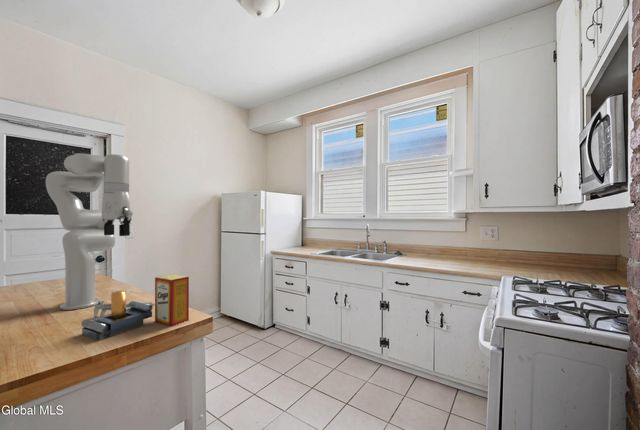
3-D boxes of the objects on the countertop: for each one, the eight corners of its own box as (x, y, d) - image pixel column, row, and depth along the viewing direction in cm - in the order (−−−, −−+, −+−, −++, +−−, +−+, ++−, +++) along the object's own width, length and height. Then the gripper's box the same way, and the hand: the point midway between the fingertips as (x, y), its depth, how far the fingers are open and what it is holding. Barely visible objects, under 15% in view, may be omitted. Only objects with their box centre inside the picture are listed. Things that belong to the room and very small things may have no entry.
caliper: (94, 319, 101) (94, 302, 101) (93, 318, 102) (93, 301, 102) (155, 305, 117) (155, 290, 118) (154, 304, 118) (154, 290, 118)
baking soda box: (155, 321, 98) (155, 276, 99) (172, 315, 104) (172, 273, 104) (171, 326, 94) (171, 279, 94) (188, 320, 99) (188, 275, 100)
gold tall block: (108, 329, 92) (108, 292, 92) (121, 325, 95) (121, 290, 95) (115, 331, 90) (115, 294, 90) (128, 327, 93) (128, 291, 94)
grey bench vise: (81, 334, 87) (81, 314, 87) (135, 317, 102) (135, 300, 102) (98, 340, 83) (98, 319, 83) (152, 322, 98) (152, 303, 98)
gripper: (92, 189, 103) (92, 235, 102) (119, 186, 95) (119, 236, 95) (114, 190, 109) (114, 234, 109) (141, 188, 102) (141, 235, 102)
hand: (116, 235), depth 102 cm, fingers open, 9 cm apart
